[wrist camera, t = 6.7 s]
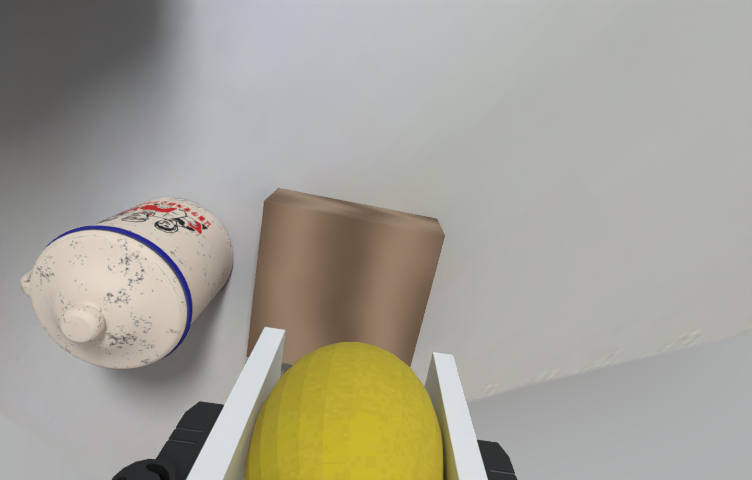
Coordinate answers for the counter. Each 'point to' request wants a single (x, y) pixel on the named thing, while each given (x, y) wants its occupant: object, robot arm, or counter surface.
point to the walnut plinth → (342, 274)
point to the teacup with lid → (130, 282)
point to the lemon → (347, 420)
